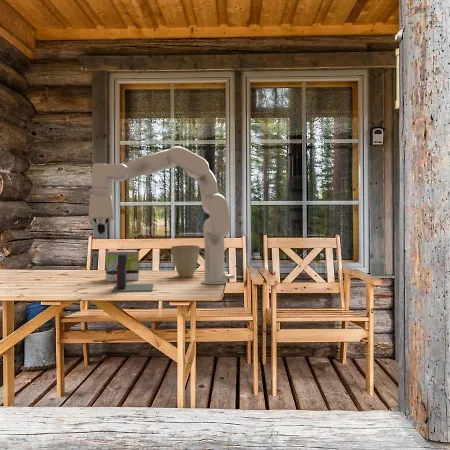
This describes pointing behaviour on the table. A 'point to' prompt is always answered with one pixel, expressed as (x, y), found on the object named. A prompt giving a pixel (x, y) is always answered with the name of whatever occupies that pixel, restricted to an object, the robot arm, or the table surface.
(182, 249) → the plant pot
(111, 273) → the tea box
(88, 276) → the table surface
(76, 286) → the table surface
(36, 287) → the table surface
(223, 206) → the robot arm
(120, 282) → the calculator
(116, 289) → the mat
